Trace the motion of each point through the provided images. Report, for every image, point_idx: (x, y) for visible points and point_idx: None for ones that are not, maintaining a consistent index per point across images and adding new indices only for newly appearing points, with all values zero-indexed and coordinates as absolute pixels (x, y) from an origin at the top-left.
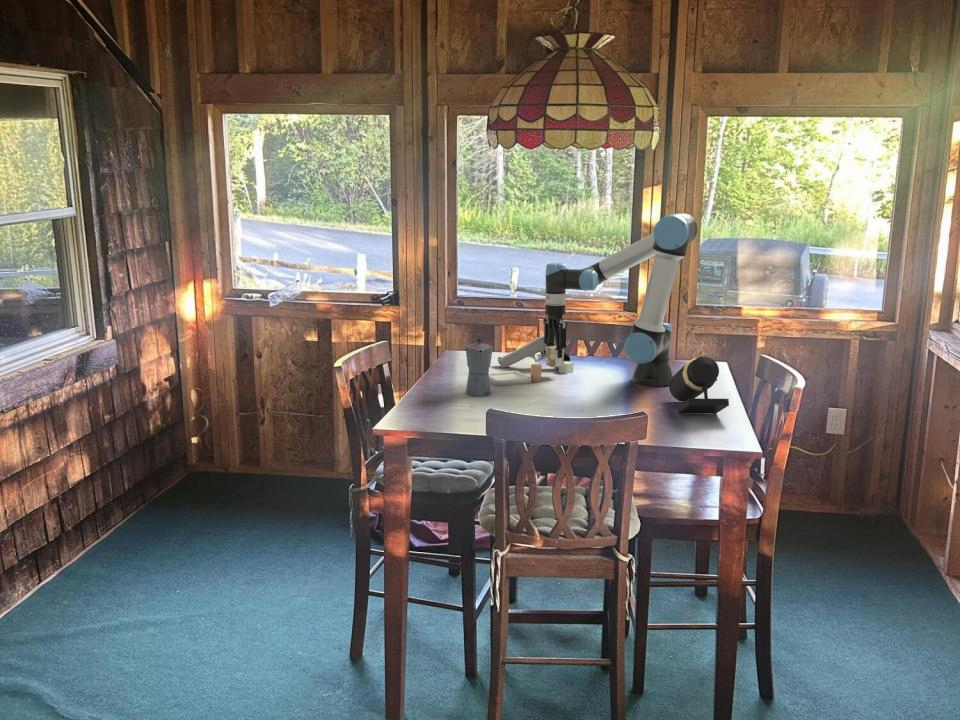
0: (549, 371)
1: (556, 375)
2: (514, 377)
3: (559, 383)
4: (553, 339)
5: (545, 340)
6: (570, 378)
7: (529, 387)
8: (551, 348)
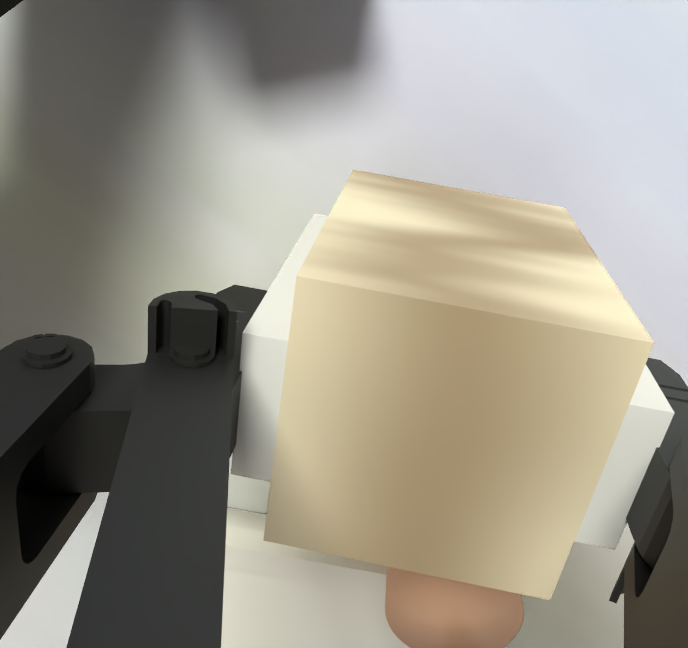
0: (154, 82)
1: (370, 142)
2: (312, 616)
3: (678, 357)
4: (224, 479)
5: (58, 535)
6: (596, 81)
7: (591, 644)
8: (472, 564)
